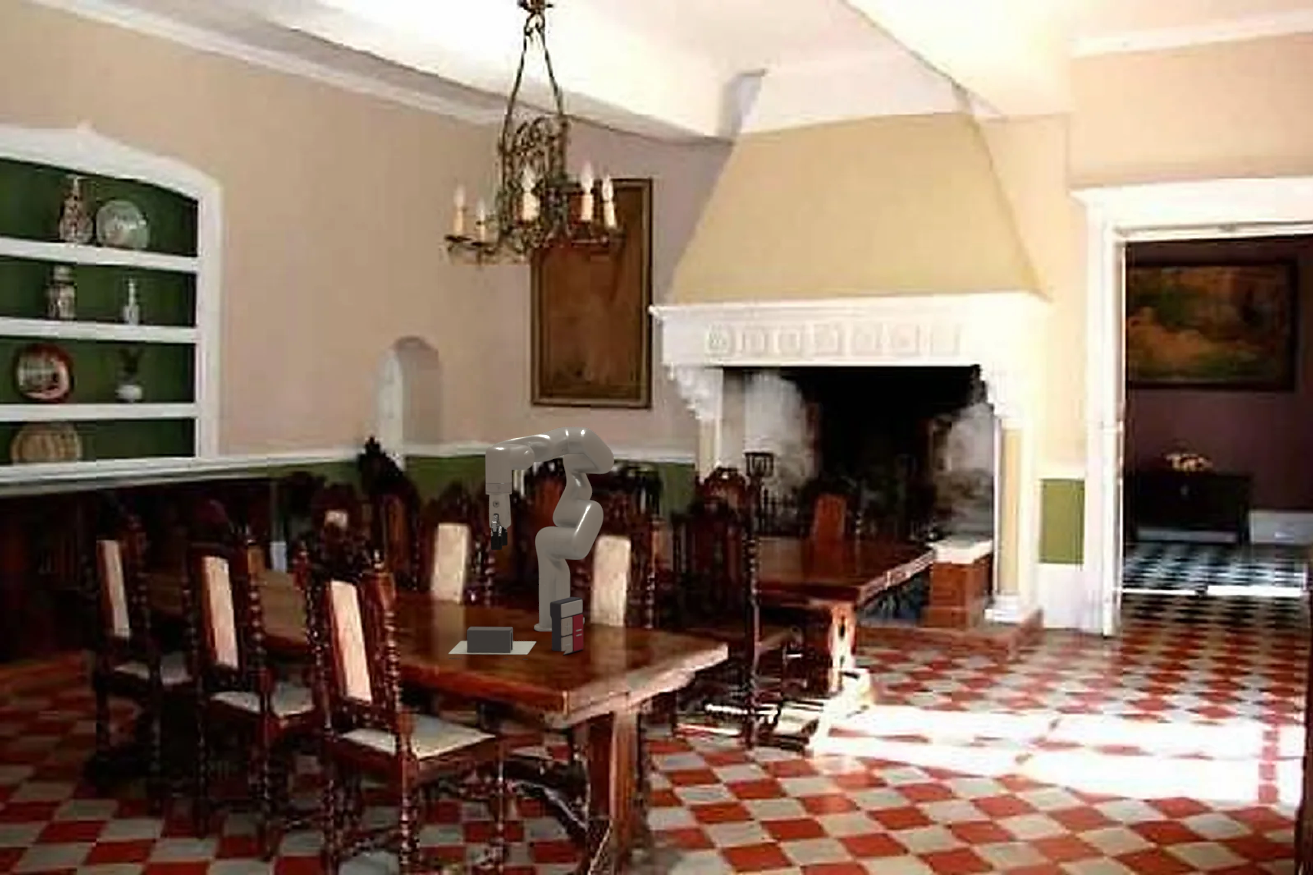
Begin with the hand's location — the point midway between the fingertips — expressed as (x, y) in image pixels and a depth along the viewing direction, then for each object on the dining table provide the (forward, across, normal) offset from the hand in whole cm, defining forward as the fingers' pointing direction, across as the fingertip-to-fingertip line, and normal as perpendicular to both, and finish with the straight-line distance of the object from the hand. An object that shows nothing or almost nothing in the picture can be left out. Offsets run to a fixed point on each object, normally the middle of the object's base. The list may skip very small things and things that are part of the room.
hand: (499, 547), depth 404 cm
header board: (+28, -12, 0) cm, 31 cm away
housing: (+27, -17, 0) cm, 32 cm away
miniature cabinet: (+28, -11, -21) cm, 37 cm away
